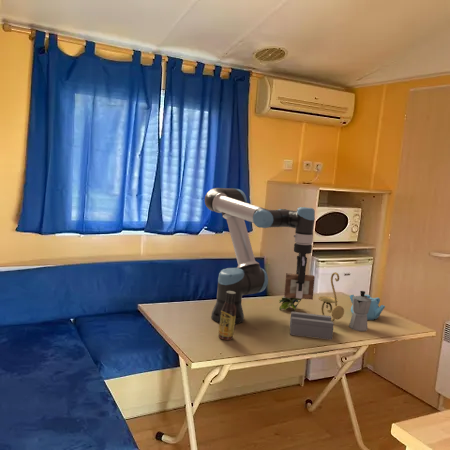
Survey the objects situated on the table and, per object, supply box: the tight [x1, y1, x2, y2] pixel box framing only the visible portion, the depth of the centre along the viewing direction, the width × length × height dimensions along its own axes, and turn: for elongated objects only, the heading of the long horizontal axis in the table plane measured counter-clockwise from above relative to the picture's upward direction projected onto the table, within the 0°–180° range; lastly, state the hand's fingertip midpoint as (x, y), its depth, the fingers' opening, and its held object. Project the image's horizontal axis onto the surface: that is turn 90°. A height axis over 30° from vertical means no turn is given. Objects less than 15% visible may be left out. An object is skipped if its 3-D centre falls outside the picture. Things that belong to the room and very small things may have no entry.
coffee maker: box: [348, 290, 371, 332], centre depth 216 cm, size 15×9×18 cm, turn 151°
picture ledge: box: [289, 311, 335, 341], centre depth 204 cm, size 18×12×7 cm, turn 84°
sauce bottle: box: [218, 291, 236, 341], centre depth 188 cm, size 7×6×20 cm
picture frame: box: [283, 273, 316, 300], centre depth 198 cm, size 12×3×10 cm, turn 87°
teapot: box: [349, 294, 386, 321], centre depth 235 cm, size 15×17×11 cm
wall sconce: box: [318, 272, 345, 323], centre depth 220 cm, size 14×10×25 cm
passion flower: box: [278, 295, 303, 312], centre depth 234 cm, size 11×11×12 cm
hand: (298, 296), depth 198 cm, fingers closed on picture frame, 3 cm apart
